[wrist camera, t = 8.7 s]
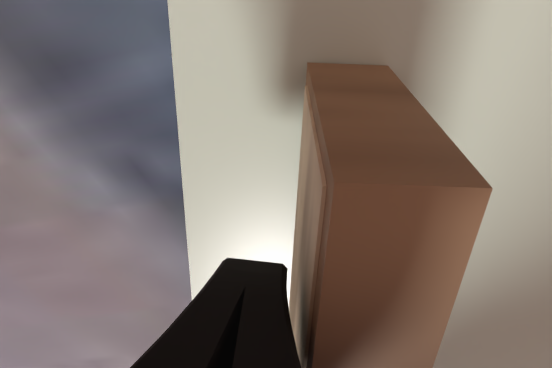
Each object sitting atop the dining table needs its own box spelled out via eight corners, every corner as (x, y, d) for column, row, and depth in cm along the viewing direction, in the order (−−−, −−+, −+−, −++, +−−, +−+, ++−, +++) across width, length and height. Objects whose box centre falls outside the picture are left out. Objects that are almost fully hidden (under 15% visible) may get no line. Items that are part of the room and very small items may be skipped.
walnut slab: (348, 301, 15) (387, 503, 9) (288, 300, 15) (292, 501, 9) (388, 65, 11) (492, 187, 5) (304, 62, 11) (329, 182, 5)
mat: (567, 380, 16) (575, 395, 15) (199, 333, 17) (195, 345, 17) (887, -168, 8) (925, -176, 8) (162, -182, 9) (152, -189, 9)
